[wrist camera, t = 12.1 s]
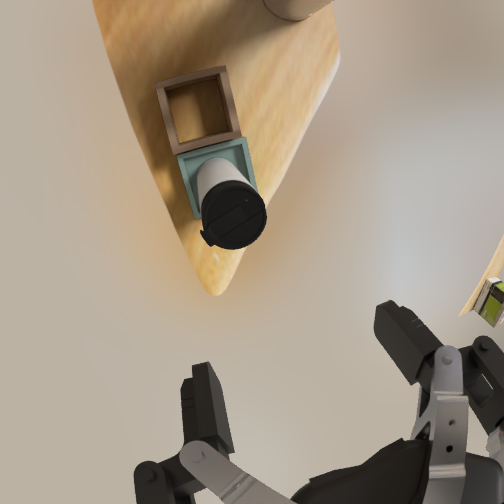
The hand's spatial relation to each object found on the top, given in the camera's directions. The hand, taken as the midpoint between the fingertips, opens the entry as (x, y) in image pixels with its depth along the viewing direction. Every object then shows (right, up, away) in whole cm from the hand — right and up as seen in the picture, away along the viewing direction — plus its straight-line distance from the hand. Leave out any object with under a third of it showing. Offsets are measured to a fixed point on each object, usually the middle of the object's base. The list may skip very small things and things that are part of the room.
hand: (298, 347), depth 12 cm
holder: (-10, +26, +26) cm, 38 cm away
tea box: (+96, -13, +71) cm, 120 cm away
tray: (-8, +16, +31) cm, 36 cm away
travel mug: (-8, +16, +31) cm, 35 cm away
